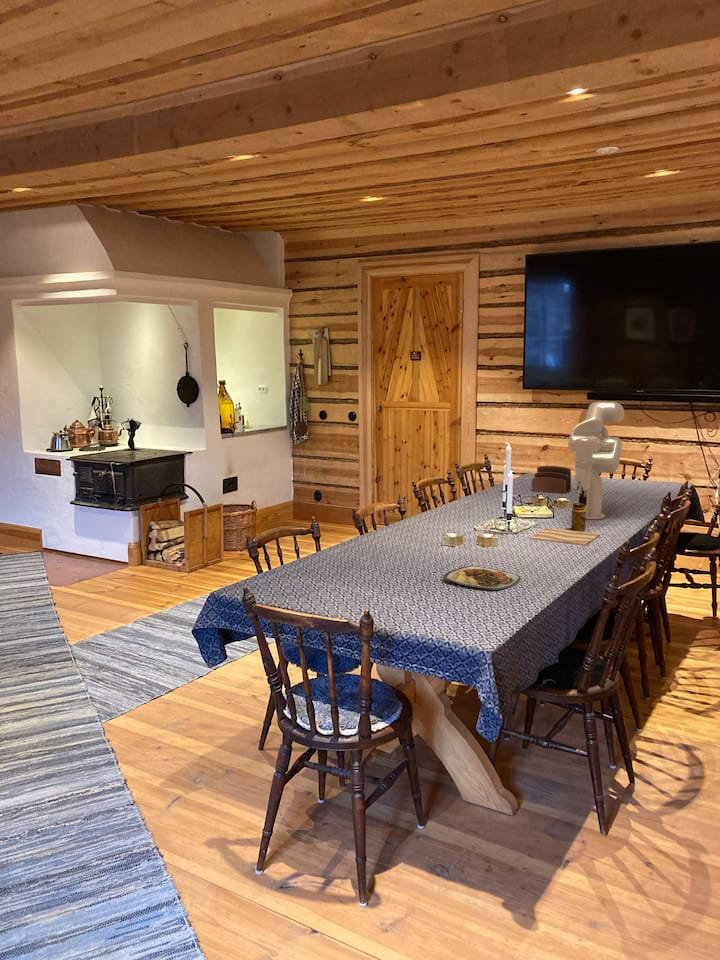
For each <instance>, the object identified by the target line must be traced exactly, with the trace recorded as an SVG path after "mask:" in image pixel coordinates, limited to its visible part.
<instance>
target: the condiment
mask: <svg viewBox="0 0 720 960" xmlns="http://www.w3.org/2000/svg"><path fill="white" fill-rule="evenodd" d="M586 520H587V519H586V510H585V504H584V503H579V502H575V503H572V509H571V527H565V528H564V530H568V531H578V532H588V529H586V522H587V521H586Z"/></svg>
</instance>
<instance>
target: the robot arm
mask: <svg viewBox="0 0 720 960" xmlns="http://www.w3.org/2000/svg"><path fill="white" fill-rule="evenodd" d="M624 418H625V409H624V407H623V405H622V404H620V403H618V402H617V401H594V402H592V403H591V404H589V406H588V409H587V412H586V416H585V419H584V420H583V421H582V422H580V423H578V424H577V425H576V426H574V427H572V430H571V432H570V434H569V438H568V441H567V442H568V445H567V447H568V449H569V451H571V452H574V453H575V456H574V457H575V459H574V460H575V462H574V469H576V470H575V474H574V491H578V492H577V493H578V503H584V504H585V510H586V520H601V519H604V518H605V516H606V515H605V514H604V513H602V503H603V502H602V501H603V500H602V499H603V479H602V477H601V476H600V475H599V474H600V473H615V472H616V471H617V470H618V469H619V465H620V460H621V455H622V449H623V442H622V440H621V438H619V437H617V436H612V435H611V436H609V431H608V429H607V428H606V426H605V425H604V423H621V422H622V421H623V420H624Z"/></svg>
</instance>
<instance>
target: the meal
mask: <svg viewBox="0 0 720 960" xmlns="http://www.w3.org/2000/svg"><path fill="white" fill-rule="evenodd" d="M507 575H508V576H507ZM509 576H511V577H509ZM512 577H515V579H513V578H512ZM521 577H522V576H521V575H518V574H515V573H512V572H510V571H505V570H499V569H495V568H488V567H483V566H476V565H467V566H462V567H458V568H456V569H453V570H450V571H448V572H446V573H445V574H443V577H442V578H443V580H446V581H448V582H452V583H456V584H458V585H462V586H466V587H467V586H468V587H473V588H480V589H485V590H494V591H497V590H504V589H508V588H513V587H514V586H516V585H519V583H520V581H521V579H522V578H521ZM500 585H502V586H500Z"/></svg>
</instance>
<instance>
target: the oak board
mask: <svg viewBox="0 0 720 960" xmlns="http://www.w3.org/2000/svg"><path fill="white" fill-rule="evenodd" d="M600 536H601V534H600V533H595V532H588V531H585V532H578V531H568V530H566V529H558V528H548V527H546V528H543V529H542V530H540V531H538V532H536V533H535V534H533V535H531V536H530V537H529V540H532V541H533V540H535V541H542V542H549V543H550V542H551V543H561V544H569V545H576V546H577V545H578V546H586V547H587V546H588V545H589V544H590V543H592V542H594V541H595V540H596V539H597V538H599V537H600Z"/></svg>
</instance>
